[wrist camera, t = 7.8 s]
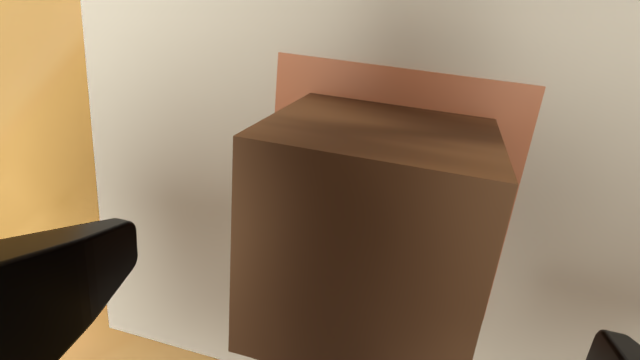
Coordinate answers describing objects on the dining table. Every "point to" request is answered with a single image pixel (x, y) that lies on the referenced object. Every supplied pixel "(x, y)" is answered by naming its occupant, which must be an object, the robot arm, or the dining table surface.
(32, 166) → the dining table surface
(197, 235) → the blueprint board
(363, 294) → the walnut cube
